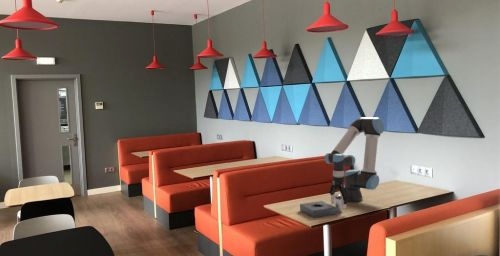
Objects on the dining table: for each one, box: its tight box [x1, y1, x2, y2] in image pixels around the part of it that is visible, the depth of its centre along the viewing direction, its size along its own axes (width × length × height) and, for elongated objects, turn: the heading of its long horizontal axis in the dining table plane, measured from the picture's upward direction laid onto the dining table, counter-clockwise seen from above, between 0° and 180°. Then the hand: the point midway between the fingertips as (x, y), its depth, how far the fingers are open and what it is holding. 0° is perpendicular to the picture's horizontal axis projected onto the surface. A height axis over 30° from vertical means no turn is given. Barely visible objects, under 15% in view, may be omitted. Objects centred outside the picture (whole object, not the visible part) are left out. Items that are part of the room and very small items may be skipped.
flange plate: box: [299, 200, 337, 219], centre depth 285 cm, size 18×18×5 cm
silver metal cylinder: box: [334, 193, 343, 214], centre depth 286 cm, size 5×5×12 cm
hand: (338, 206), depth 286 cm, fingers open, 13 cm apart
